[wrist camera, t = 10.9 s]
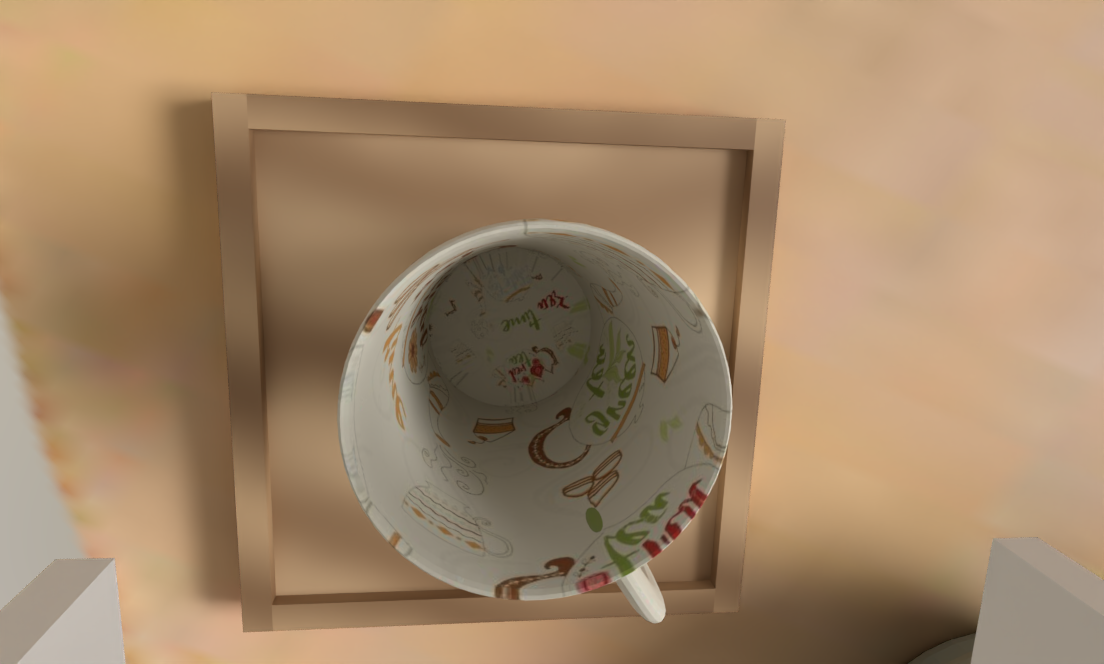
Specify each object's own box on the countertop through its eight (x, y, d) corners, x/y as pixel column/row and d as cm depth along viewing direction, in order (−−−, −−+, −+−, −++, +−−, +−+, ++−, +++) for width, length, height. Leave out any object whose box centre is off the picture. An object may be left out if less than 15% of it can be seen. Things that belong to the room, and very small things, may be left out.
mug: (554, 155, 24) (617, 139, 14) (723, 458, 27) (873, 617, 17) (336, 286, 24) (249, 360, 14) (530, 574, 27) (569, 799, 17)
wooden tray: (230, 99, 23) (211, 92, 22) (763, 123, 26) (785, 119, 24) (257, 602, 27) (243, 632, 25) (722, 585, 29) (738, 611, 27)
